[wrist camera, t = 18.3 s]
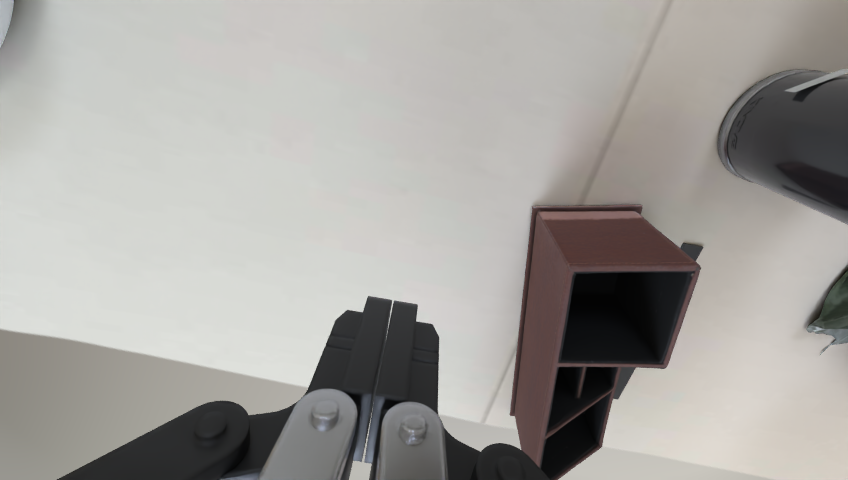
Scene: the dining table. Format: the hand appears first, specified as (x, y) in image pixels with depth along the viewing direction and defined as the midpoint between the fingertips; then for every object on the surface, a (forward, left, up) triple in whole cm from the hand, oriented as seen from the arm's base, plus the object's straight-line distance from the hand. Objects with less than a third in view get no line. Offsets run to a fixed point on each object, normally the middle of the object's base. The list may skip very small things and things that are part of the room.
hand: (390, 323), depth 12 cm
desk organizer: (-19, +18, -27) cm, 38 cm away
